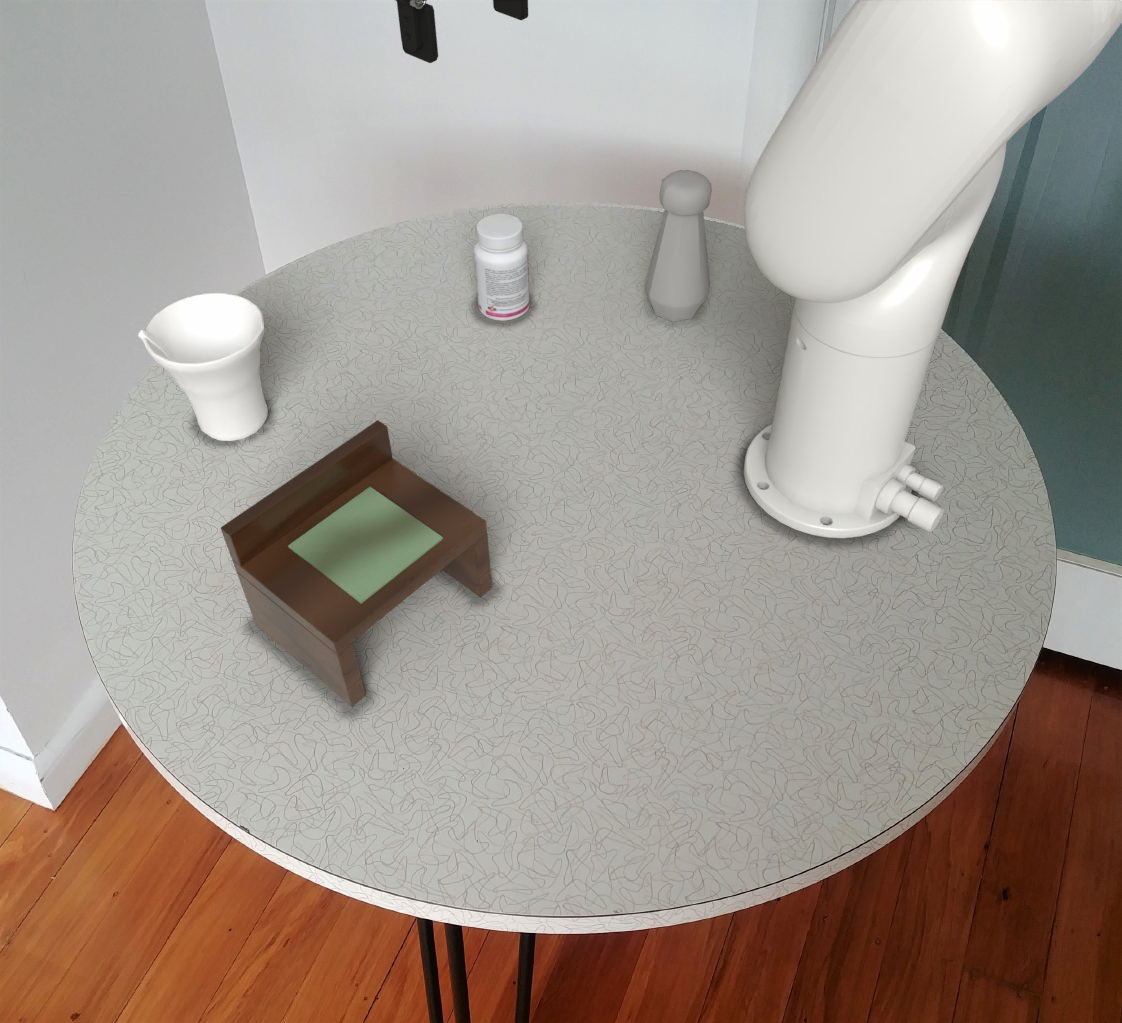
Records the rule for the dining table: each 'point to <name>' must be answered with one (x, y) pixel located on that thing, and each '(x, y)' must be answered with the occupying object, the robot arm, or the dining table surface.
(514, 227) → the pill bottle
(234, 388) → the cup
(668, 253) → the salt shaker
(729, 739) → the dining table surface
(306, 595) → the shelf
